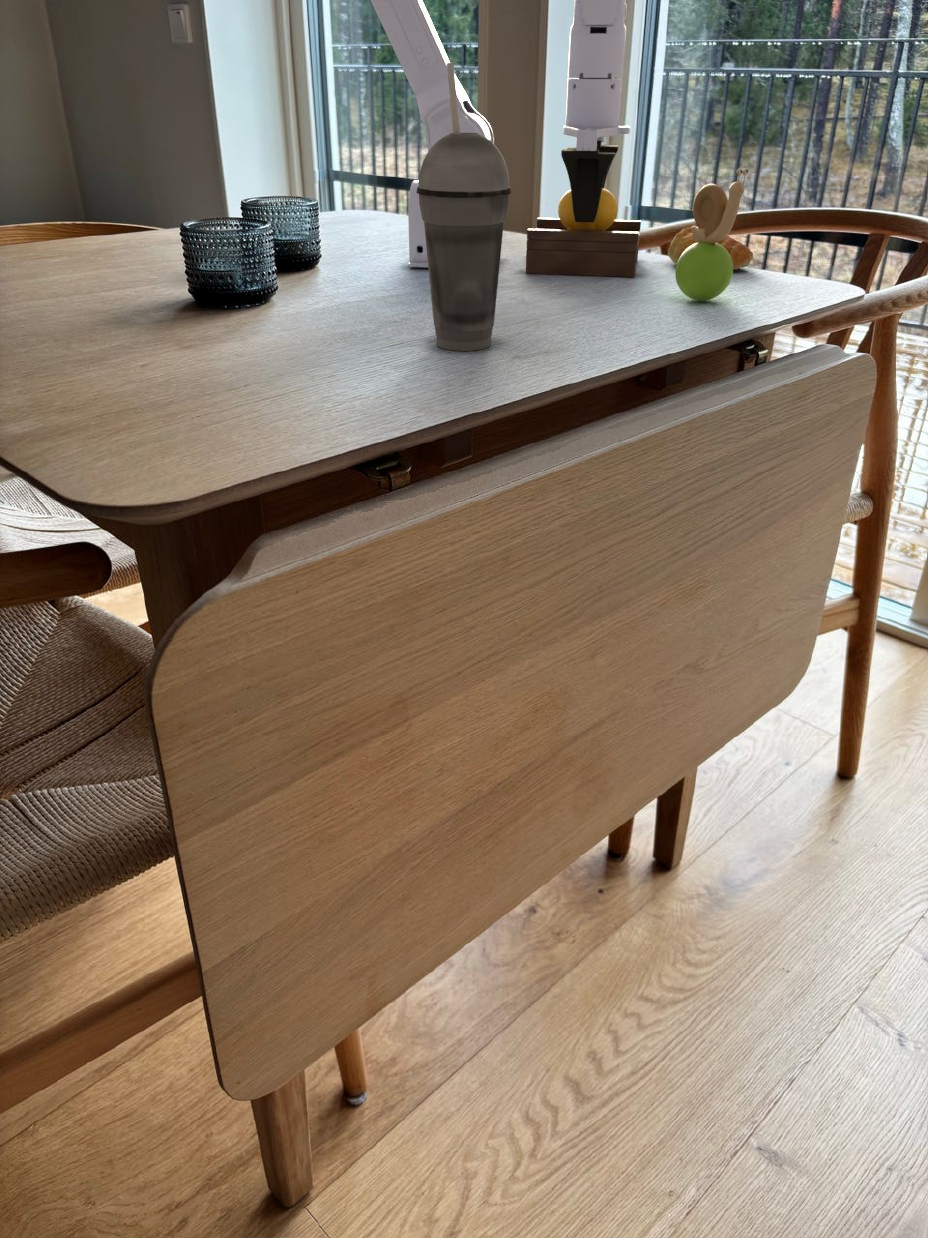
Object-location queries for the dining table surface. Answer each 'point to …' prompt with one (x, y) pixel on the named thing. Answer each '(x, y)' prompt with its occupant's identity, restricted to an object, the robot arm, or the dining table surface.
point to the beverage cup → (463, 231)
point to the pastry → (736, 249)
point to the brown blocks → (583, 249)
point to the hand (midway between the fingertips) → (586, 218)
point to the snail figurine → (710, 242)
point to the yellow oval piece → (603, 216)
